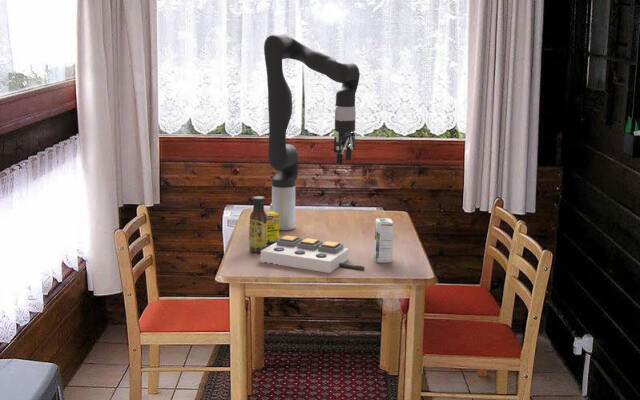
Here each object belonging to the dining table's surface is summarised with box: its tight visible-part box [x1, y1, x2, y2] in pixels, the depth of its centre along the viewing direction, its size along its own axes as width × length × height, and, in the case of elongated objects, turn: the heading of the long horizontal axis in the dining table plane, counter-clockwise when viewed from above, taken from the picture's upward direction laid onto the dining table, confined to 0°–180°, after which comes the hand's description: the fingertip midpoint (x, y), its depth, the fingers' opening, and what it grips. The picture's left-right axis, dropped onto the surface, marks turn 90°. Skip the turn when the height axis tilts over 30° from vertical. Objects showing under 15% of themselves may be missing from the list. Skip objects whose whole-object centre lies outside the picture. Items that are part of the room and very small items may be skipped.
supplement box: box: [265, 211, 280, 245], centre depth 296 cm, size 6×6×11 cm
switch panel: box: [260, 235, 366, 274], centre depth 273 cm, size 35×16×6 cm, turn 66°
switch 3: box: [322, 241, 341, 249], centre depth 275 cm, size 5×5×2 cm
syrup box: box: [373, 217, 395, 264], centre depth 276 cm, size 6×6×14 cm
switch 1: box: [279, 235, 299, 242], centre depth 281 cm, size 5×5×2 cm
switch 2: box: [301, 237, 320, 246], centre depth 278 cm, size 5×5×2 cm
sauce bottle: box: [248, 195, 268, 254], centre depth 284 cm, size 6×6×20 cm
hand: (344, 162), depth 293 cm, fingers open, 8 cm apart
